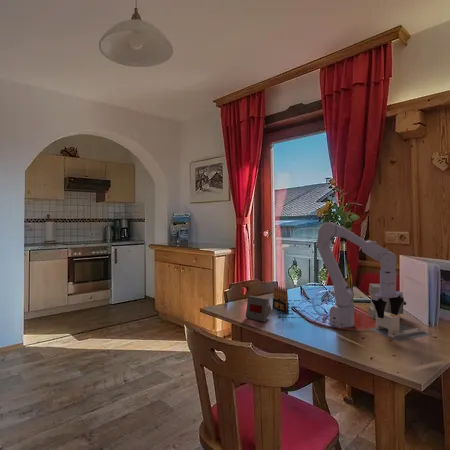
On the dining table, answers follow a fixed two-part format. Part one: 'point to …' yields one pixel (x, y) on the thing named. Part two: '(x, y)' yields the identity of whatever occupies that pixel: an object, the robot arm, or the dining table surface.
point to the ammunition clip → (282, 296)
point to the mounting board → (401, 328)
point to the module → (388, 322)
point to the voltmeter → (263, 308)
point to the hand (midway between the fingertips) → (387, 316)
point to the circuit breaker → (376, 289)
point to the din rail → (406, 333)
